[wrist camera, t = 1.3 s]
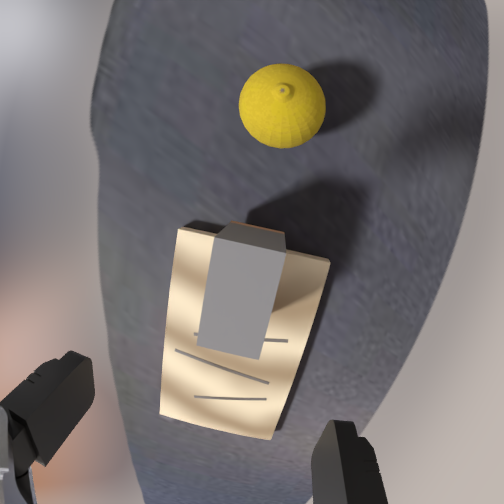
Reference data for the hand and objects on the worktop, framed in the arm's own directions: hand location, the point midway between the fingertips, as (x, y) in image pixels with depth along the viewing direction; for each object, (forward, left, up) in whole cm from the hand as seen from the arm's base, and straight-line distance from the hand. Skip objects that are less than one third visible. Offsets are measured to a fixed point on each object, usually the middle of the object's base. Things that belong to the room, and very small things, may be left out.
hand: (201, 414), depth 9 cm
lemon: (-12, 0, -17) cm, 21 cm away
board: (+8, 0, -17) cm, 19 cm away
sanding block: (0, 0, -16) cm, 16 cm away
